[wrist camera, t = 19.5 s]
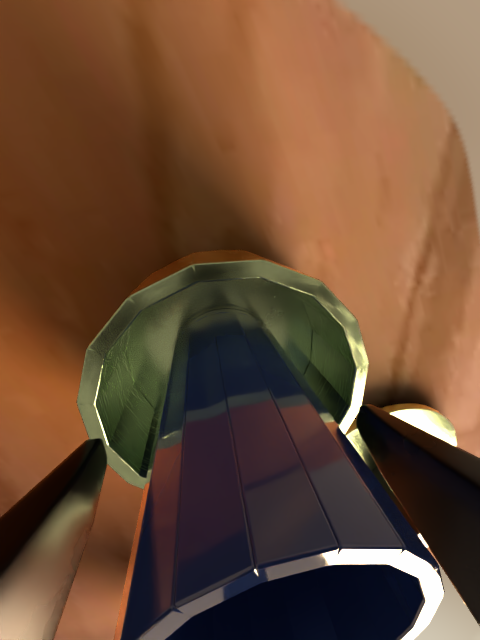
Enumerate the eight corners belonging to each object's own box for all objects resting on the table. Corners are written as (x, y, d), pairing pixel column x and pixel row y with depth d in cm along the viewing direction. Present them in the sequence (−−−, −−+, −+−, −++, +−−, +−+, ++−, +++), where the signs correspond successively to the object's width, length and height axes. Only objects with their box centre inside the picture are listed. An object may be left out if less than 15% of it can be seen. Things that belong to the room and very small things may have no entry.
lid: (392, 512, 23) (445, 588, 18) (280, 505, 19) (308, 595, 15) (470, 412, 19) (560, 472, 14) (350, 382, 16) (416, 448, 11)
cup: (253, 406, 15) (347, 703, 6) (160, 388, 13) (77, 759, 4) (289, 324, 13) (508, 550, 4) (189, 294, 12) (160, 544, 2)
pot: (274, 439, 17) (300, 509, 13) (100, 413, 14) (59, 493, 10) (349, 289, 14) (416, 316, 9) (145, 213, 11) (112, 203, 6)
